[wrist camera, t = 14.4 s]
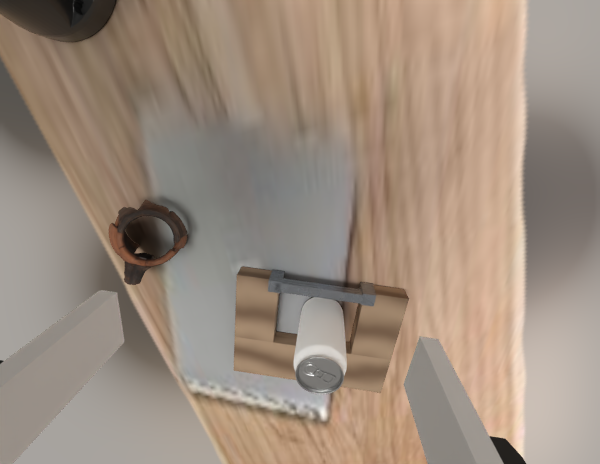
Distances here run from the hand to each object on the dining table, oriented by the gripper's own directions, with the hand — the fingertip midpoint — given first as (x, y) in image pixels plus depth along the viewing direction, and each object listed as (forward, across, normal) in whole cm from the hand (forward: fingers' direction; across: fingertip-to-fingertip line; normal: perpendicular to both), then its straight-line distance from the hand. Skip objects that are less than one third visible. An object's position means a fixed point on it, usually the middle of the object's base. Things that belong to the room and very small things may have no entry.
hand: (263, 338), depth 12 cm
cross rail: (+27, +4, -13) cm, 30 cm away
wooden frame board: (+27, +4, -21) cm, 34 cm away
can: (+27, +5, -18) cm, 33 cm away
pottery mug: (+27, -21, -9) cm, 35 cm away
